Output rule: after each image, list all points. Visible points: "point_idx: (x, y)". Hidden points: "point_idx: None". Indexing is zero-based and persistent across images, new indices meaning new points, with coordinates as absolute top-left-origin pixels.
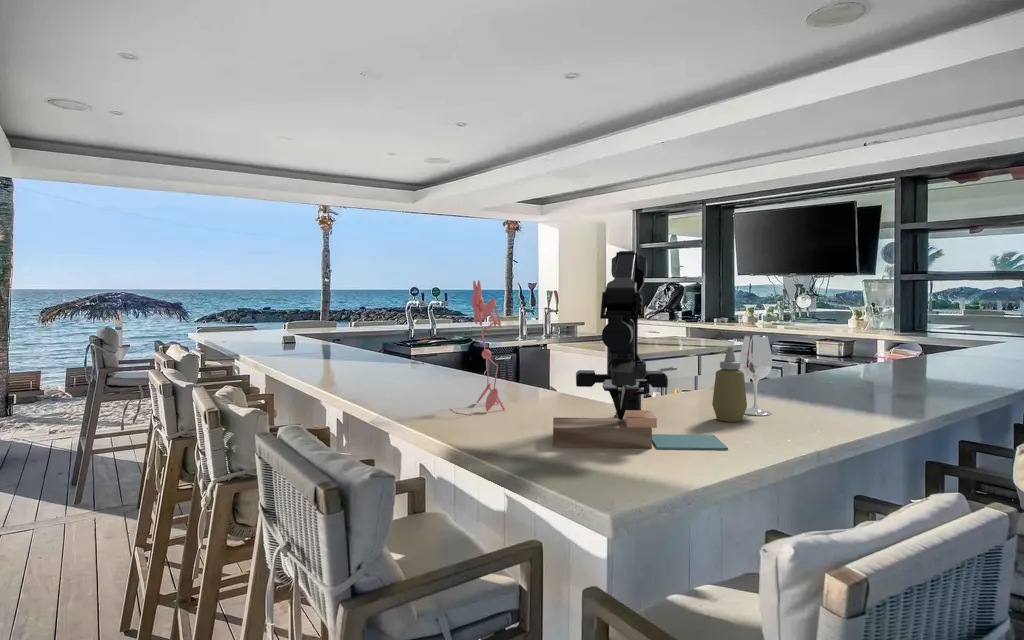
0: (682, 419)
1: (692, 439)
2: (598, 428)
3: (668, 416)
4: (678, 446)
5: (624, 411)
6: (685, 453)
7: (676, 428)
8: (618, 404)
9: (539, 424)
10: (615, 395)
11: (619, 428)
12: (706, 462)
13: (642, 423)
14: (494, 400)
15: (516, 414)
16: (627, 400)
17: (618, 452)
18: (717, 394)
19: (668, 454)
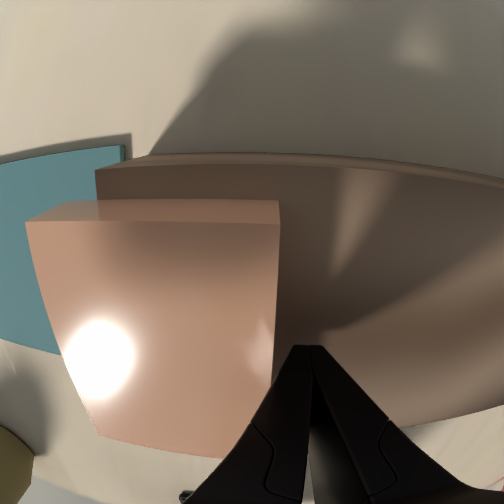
0: (92, 474)
1: (10, 285)
2: (480, 184)
3: (126, 495)
4: (39, 172)
5: (280, 380)
6: (32, 97)
7: (85, 425)
8: (351, 426)
9: (476, 443)
10: (420, 501)
11: (344, 169)
12: (10, 6)
13: (142, 206)
14: None
15: (470, 485)
16: (245, 462)
17: (336, 68)
18: (2, 484)
19: (91, 61)
